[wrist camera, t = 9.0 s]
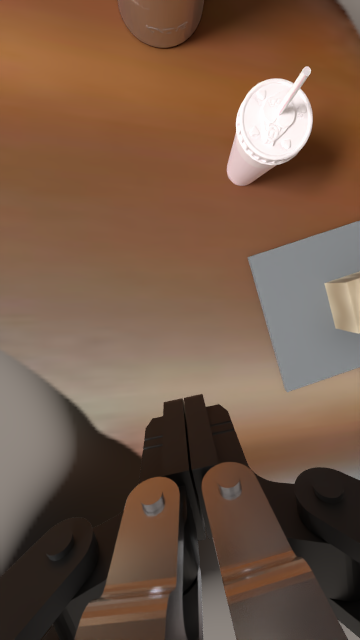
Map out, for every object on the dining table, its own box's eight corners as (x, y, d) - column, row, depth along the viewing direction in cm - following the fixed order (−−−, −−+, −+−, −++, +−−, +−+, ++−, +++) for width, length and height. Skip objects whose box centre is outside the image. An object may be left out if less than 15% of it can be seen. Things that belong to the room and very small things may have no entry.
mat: (285, 390, 36) (287, 391, 35) (247, 257, 33) (249, 257, 33) (452, 332, 36) (457, 333, 36) (428, 198, 34) (432, 196, 33)
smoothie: (275, 151, 32) (363, 47, 18) (258, 205, 33) (331, 144, 19) (224, 132, 31) (275, 10, 18) (208, 187, 32) (244, 112, 18)
